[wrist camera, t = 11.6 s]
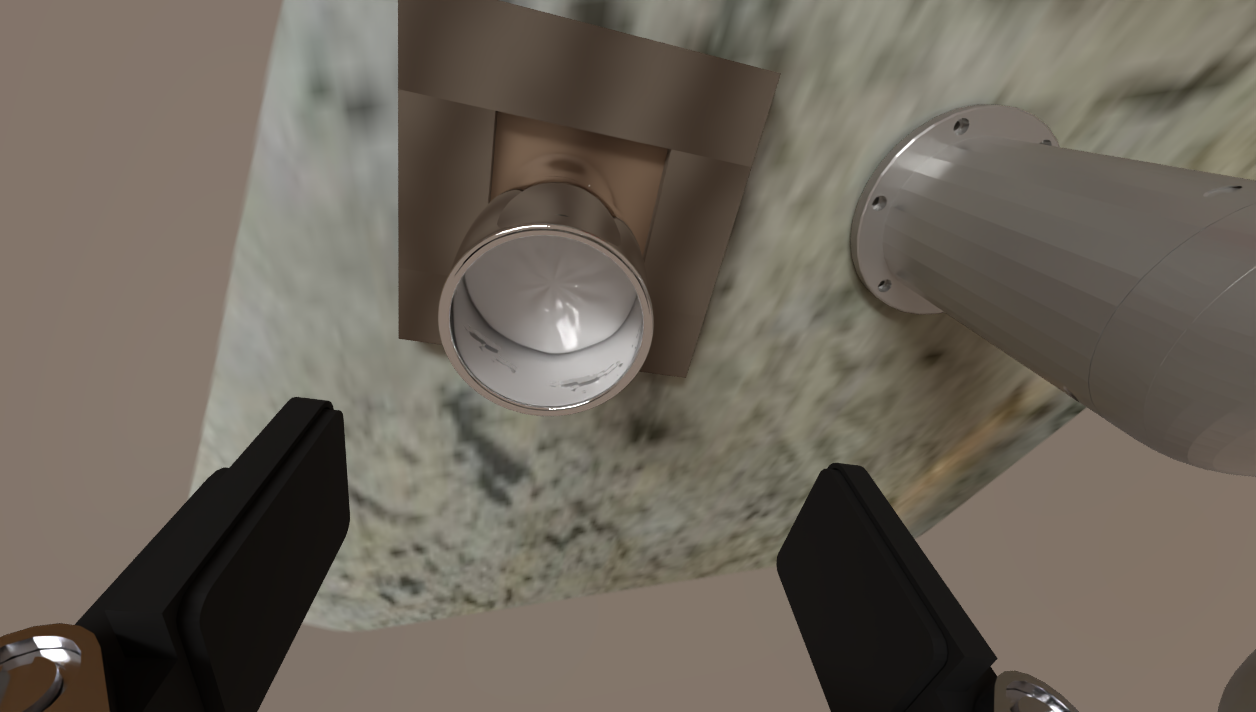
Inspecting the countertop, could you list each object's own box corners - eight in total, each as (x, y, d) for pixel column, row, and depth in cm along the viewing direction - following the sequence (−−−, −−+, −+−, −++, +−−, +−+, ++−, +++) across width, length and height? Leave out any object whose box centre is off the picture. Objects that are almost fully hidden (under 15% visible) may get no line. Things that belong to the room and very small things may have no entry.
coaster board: (767, 73, 27) (780, 73, 25) (680, 362, 35) (685, 377, 34) (410, -20, 24) (398, -26, 22) (408, 323, 32) (398, 338, 30)
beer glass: (585, 289, 31) (593, 449, 18) (476, 234, 29) (396, 372, 16) (644, 186, 28) (704, 288, 15) (530, 116, 26) (486, 167, 13)
